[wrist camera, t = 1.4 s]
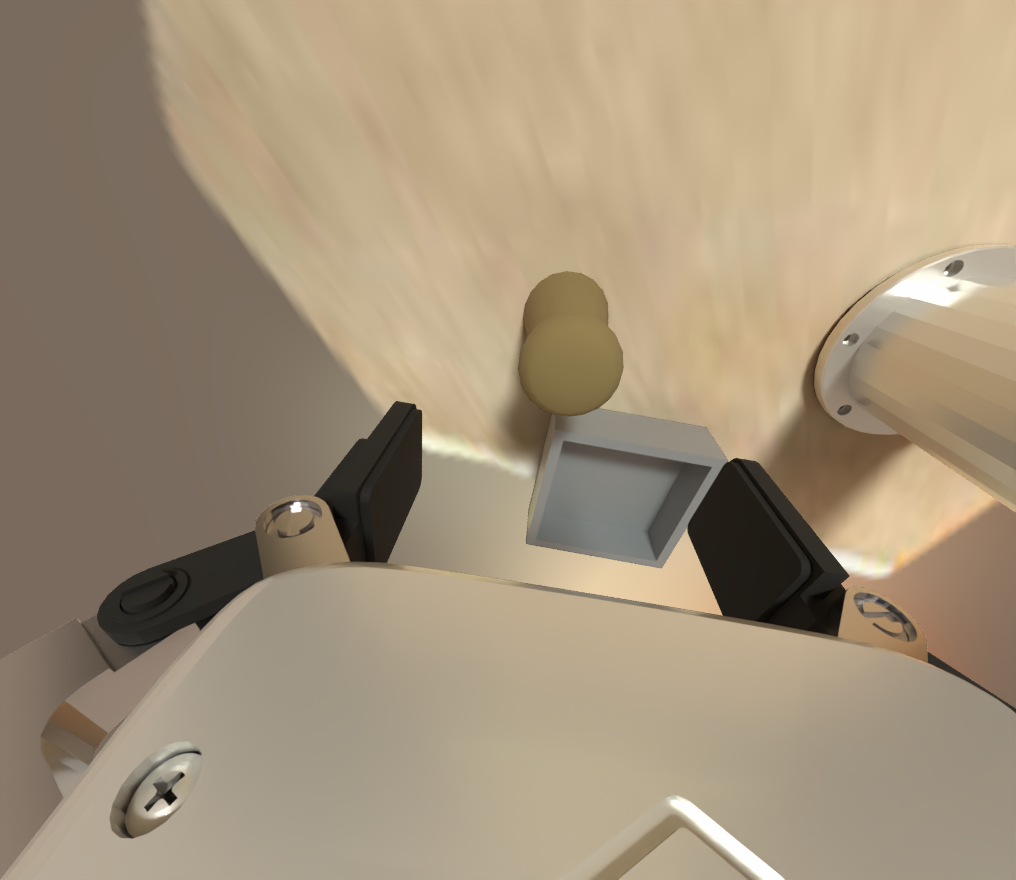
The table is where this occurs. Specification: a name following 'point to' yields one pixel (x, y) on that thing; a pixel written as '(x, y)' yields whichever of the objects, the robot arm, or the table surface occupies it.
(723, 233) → the table surface
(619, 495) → the box
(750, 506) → the robot arm
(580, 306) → the cork
